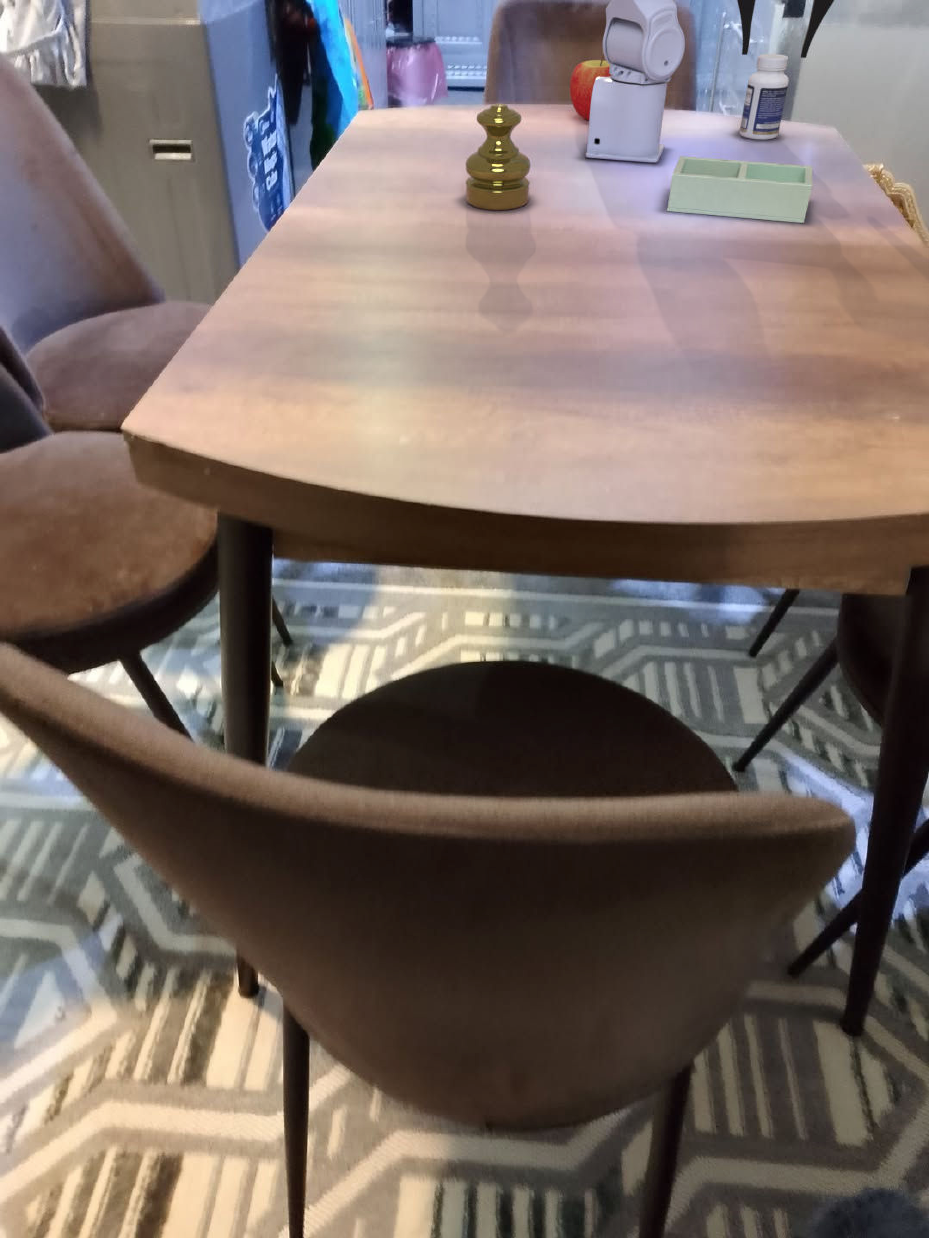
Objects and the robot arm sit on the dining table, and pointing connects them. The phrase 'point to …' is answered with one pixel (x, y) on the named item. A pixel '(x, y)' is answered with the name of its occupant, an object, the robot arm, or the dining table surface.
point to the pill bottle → (765, 98)
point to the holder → (741, 189)
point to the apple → (586, 84)
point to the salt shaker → (498, 164)
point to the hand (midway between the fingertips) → (773, 55)
